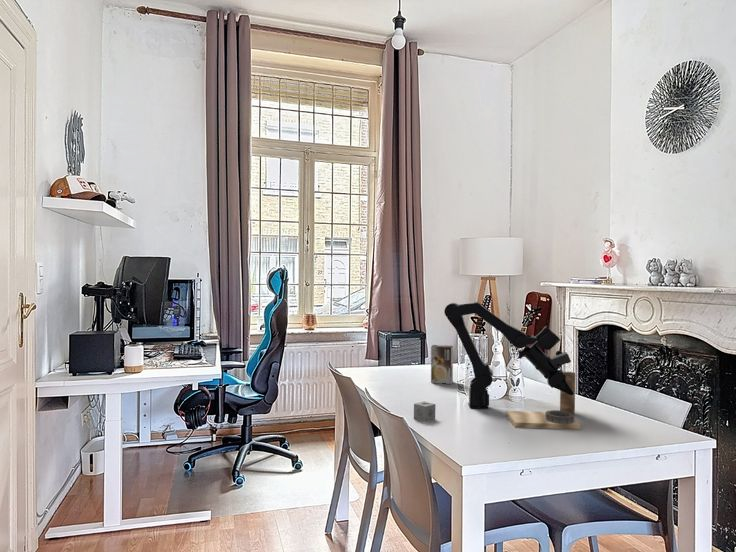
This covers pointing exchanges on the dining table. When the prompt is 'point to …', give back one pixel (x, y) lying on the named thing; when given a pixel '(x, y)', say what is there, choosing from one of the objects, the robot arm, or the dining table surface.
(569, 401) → the walnut post
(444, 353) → the coffee box
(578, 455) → the dining table surface
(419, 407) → the dice cube
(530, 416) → the oak socket board
